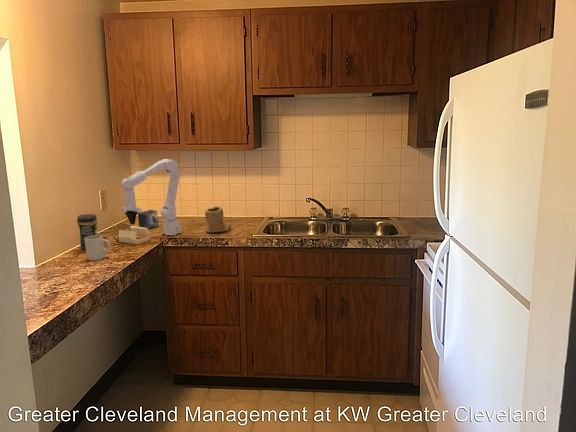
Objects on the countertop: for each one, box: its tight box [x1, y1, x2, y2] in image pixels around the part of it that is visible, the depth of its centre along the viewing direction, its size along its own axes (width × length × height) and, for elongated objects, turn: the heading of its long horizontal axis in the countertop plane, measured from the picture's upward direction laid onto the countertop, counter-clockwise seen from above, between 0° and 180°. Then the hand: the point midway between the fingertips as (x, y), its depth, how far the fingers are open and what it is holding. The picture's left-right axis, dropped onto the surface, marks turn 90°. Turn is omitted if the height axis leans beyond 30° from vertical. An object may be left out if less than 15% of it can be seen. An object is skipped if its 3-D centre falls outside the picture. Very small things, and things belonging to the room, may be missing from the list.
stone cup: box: [204, 206, 232, 234], centre depth 268 cm, size 15×12×15 cm
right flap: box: [129, 225, 151, 236], centre depth 260 cm, size 13×4×1 cm
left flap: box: [118, 229, 138, 239], centre depth 253 cm, size 13×4×1 cm
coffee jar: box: [76, 213, 99, 250], centre depth 246 cm, size 10×8×19 cm
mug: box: [85, 234, 112, 262], centre depth 229 cm, size 12×8×11 cm
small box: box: [137, 209, 159, 230], centre depth 285 cm, size 11×6×10 cm, turn 143°
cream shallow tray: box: [118, 233, 151, 245], centre depth 257 cm, size 14×10×2 cm
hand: (132, 224), depth 255 cm, fingers closed
